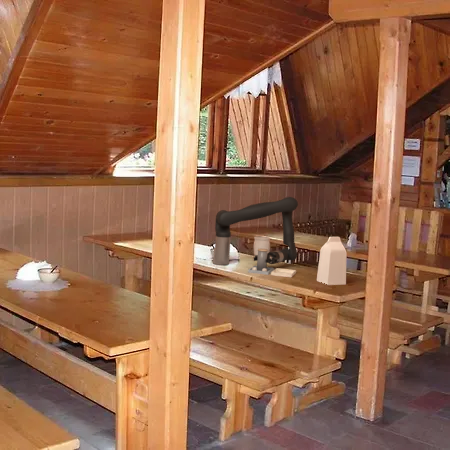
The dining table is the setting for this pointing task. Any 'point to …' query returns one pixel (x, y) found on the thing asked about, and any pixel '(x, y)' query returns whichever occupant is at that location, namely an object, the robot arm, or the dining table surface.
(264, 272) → the tray
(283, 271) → the tray
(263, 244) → the jar
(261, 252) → the canister
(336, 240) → the milk
